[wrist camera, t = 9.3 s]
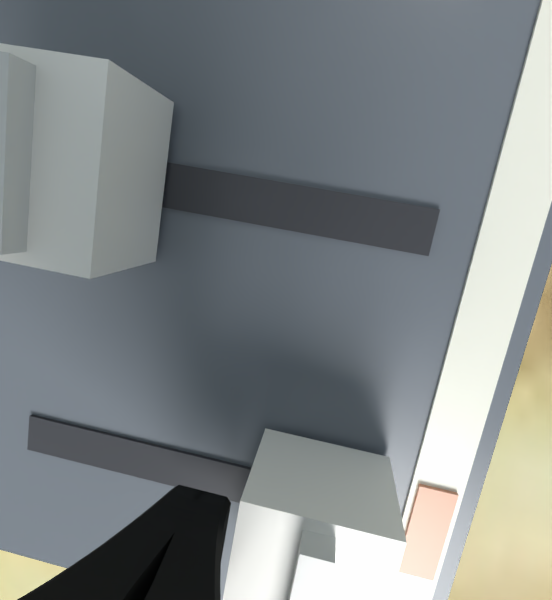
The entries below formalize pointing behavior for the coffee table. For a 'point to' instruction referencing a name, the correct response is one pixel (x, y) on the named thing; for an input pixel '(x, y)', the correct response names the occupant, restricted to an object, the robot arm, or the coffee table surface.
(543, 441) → the coffee table surface
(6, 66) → the middle tab
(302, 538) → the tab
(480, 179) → the switch panel
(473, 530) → the coffee table surface
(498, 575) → the coffee table surface
